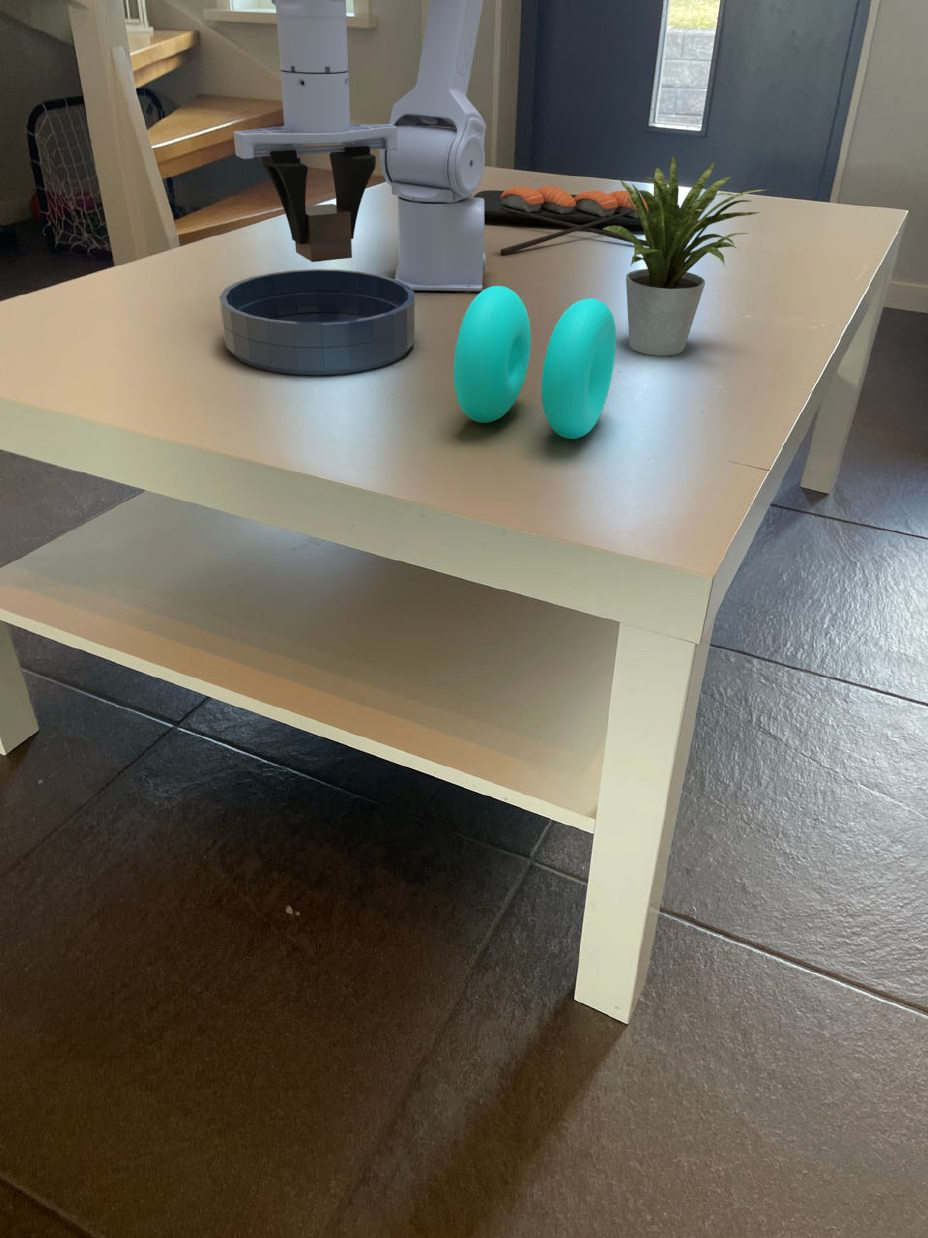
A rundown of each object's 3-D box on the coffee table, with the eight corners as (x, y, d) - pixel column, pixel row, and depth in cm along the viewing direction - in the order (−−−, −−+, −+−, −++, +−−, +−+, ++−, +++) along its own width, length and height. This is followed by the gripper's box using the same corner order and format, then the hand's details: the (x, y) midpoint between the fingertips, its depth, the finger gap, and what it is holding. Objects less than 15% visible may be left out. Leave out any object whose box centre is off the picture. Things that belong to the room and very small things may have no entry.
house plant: (700, 389, 82) (734, 181, 73) (554, 357, 88) (570, 160, 79) (754, 345, 93) (790, 156, 83) (620, 318, 98) (640, 139, 89)
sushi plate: (678, 214, 140) (681, 186, 138) (679, 266, 116) (684, 233, 114) (478, 202, 144) (479, 174, 142) (439, 250, 120) (439, 217, 118)
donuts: (494, 394, 80) (499, 269, 75) (612, 414, 77) (626, 286, 72) (446, 438, 73) (448, 302, 67) (574, 462, 70) (588, 323, 64)
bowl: (416, 317, 97) (416, 270, 95) (412, 378, 83) (412, 325, 81) (242, 314, 97) (238, 267, 94) (208, 375, 83) (202, 322, 80)
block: (335, 248, 93) (333, 203, 91) (352, 257, 90) (350, 211, 88) (295, 252, 91) (292, 206, 89) (311, 262, 89) (309, 215, 86)
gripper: (372, 65, 88) (376, 223, 96) (216, 67, 82) (233, 236, 90) (407, 72, 83) (408, 239, 91) (243, 75, 77) (259, 254, 85)
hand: (323, 239), depth 90 cm, fingers closed on block, 4 cm apart
